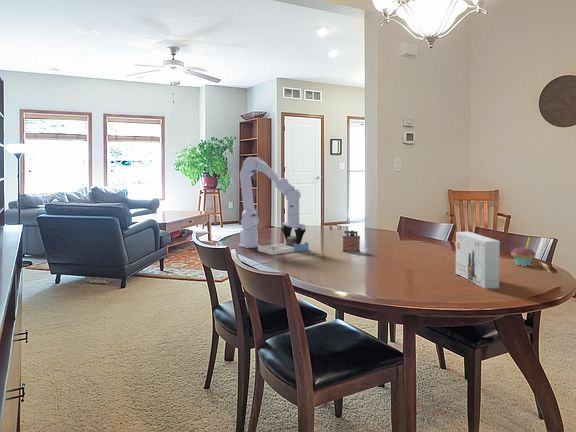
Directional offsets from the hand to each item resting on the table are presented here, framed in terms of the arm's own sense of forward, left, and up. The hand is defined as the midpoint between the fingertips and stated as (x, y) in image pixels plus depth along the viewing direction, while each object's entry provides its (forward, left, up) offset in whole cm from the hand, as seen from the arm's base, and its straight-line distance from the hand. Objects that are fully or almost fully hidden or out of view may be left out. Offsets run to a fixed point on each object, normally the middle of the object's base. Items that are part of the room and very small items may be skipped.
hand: (293, 242), depth 216 cm
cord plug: (0, 0, -3) cm, 3 cm away
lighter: (+22, +17, -3) cm, 28 cm away
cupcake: (+84, +51, -3) cm, 98 cm away
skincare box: (+87, +12, -3) cm, 88 cm away
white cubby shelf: (0, -6, -3) cm, 7 cm away
